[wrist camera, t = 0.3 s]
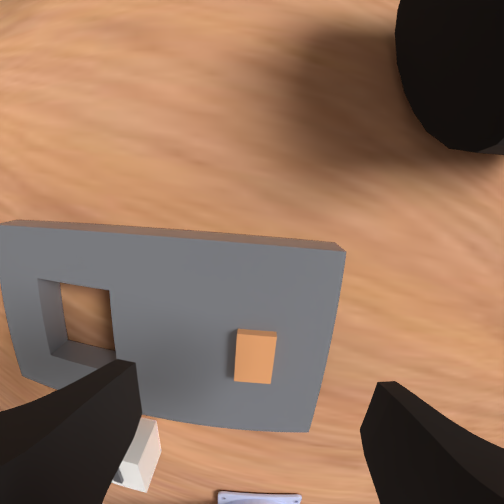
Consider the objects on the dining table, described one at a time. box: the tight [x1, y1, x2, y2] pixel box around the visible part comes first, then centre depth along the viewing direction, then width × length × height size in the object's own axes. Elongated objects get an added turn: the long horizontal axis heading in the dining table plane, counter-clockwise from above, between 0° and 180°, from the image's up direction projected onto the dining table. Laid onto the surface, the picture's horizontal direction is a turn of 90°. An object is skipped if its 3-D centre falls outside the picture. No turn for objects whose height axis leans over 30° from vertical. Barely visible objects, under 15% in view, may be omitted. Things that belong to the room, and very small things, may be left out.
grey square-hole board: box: [0, 220, 346, 432], centre depth 17 cm, size 12×22×3 cm, turn 86°
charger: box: [111, 417, 161, 493], centre depth 18 cm, size 4×4×5 cm
